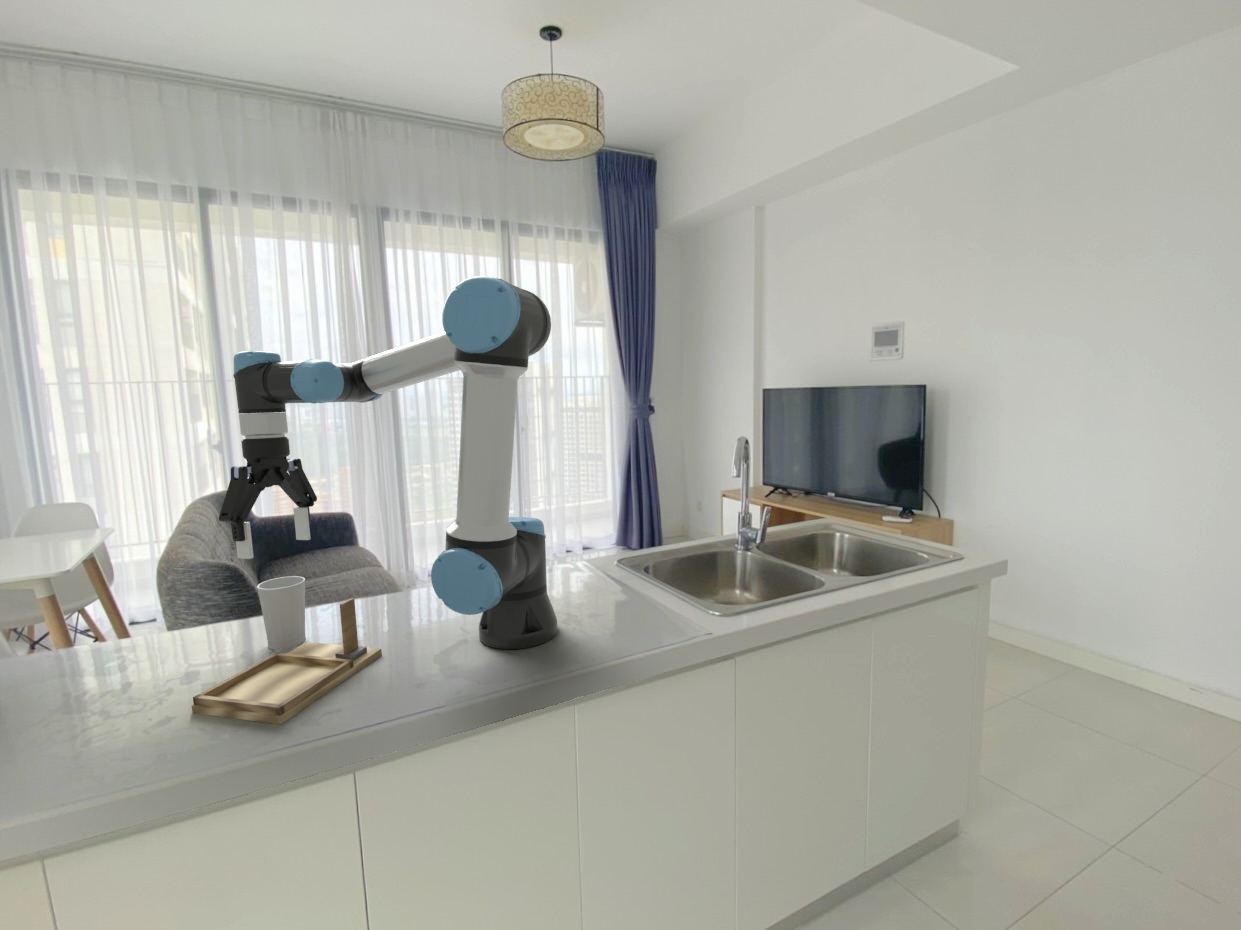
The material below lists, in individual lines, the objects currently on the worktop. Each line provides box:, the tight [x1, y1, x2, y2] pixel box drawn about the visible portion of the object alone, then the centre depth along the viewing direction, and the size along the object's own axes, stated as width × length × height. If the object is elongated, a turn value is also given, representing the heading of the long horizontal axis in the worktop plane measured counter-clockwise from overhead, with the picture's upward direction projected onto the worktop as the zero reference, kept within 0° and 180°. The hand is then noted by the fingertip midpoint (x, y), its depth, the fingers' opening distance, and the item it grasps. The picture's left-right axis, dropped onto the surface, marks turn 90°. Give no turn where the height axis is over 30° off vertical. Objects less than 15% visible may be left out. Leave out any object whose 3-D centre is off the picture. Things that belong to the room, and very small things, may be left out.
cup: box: [256, 575, 307, 651], centre depth 112 cm, size 8×8×12 cm
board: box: [191, 597, 383, 725], centre depth 96 cm, size 16×23×11 cm
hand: (276, 548), depth 110 cm, fingers open, 13 cm apart
